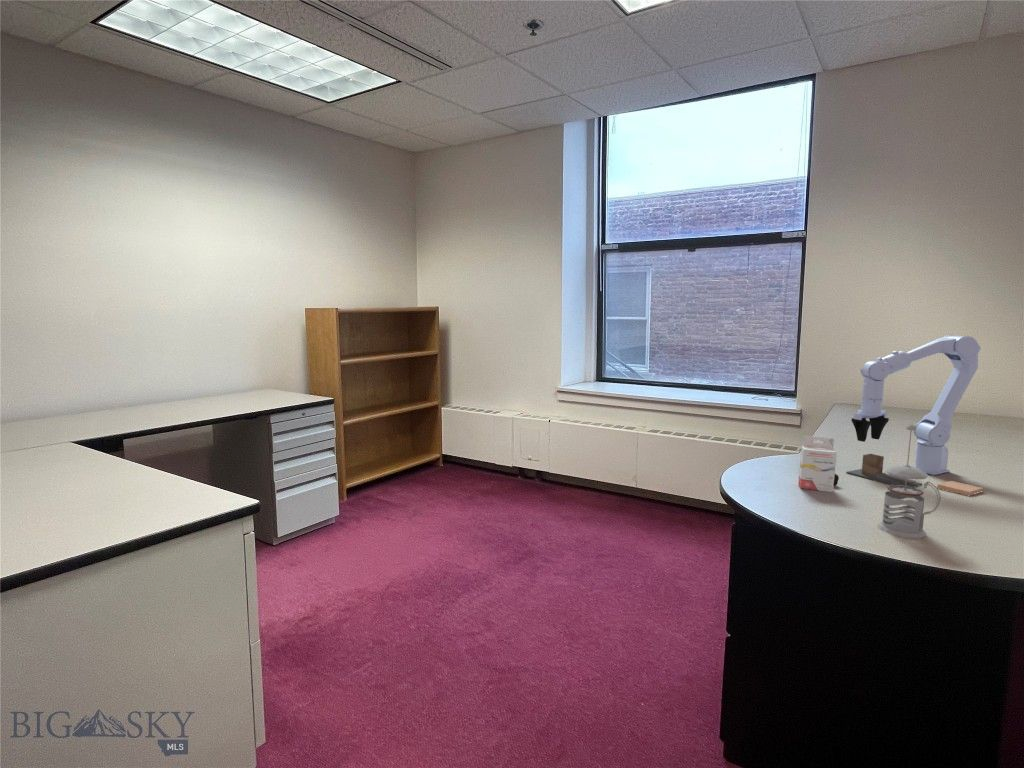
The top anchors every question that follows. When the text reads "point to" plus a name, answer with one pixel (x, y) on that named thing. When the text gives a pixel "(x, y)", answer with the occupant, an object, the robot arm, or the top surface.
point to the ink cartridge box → (817, 464)
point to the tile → (959, 487)
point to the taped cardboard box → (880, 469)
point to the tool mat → (859, 473)
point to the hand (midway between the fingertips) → (868, 439)
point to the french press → (905, 502)
